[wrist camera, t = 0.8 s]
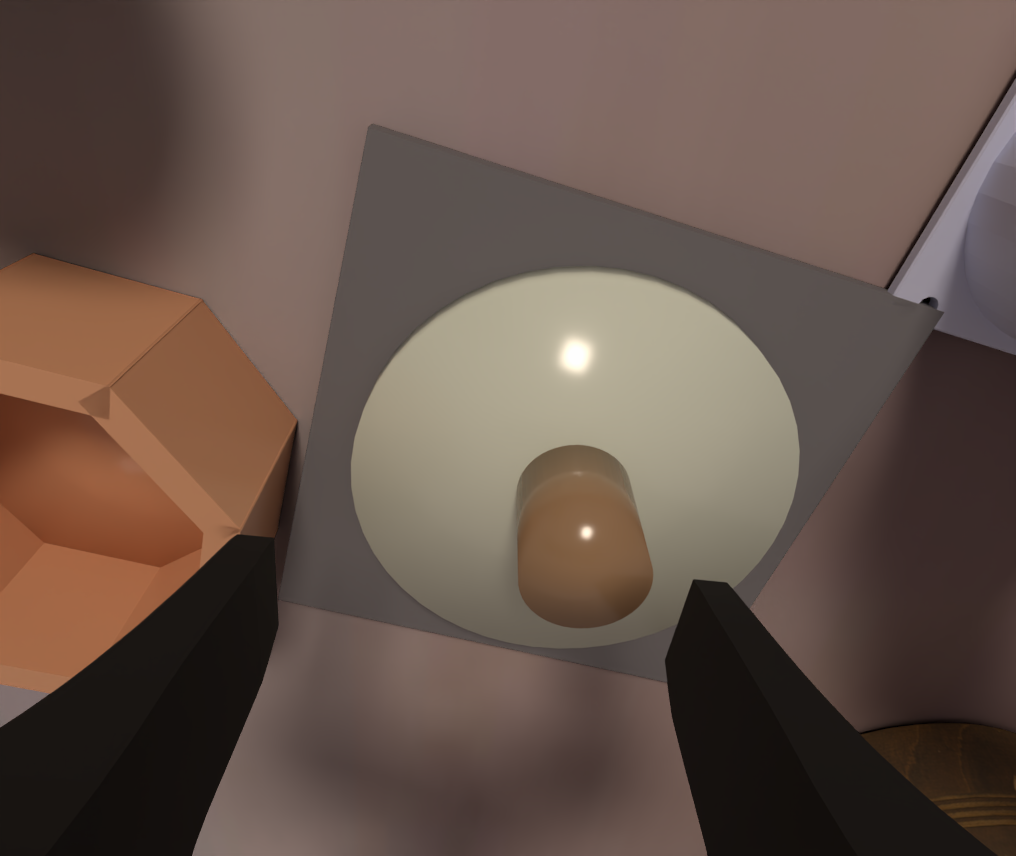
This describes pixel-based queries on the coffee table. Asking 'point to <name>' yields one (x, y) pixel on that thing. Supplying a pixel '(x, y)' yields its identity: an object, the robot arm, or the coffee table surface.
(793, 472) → the lid
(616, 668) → the mat
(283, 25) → the coffee table surface
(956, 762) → the wooden container
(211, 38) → the coffee table surface
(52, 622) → the bowl
